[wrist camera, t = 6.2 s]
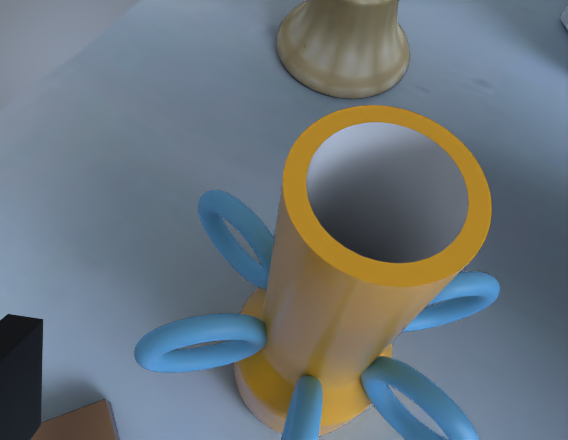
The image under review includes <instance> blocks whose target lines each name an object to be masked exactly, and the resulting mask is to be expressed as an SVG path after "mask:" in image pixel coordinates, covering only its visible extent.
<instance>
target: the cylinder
mask: <svg viewBox="0 0 568 440" xmlns="http://www.w3.org/2000/svg"><path fill="white" fill-rule="evenodd" d="M198 212H199V217H200V220H201V222H202V225H203V227H204V229H205V231H206V233H207V234H208V236H209V238H210V239H211V241H212V242H213V244H214V245H215V247H216V248H217V249H218V251H219V252H220V253H221V254H222V256H223V257H224V258H225V259H226V260H227V262H228V263H229V264H230V265H231V266H232V267H233V268H234V269H235V270H236V271H237V272H238V273H239V274H240V275H242V276H243V277H244V278H245V279H247V280H248V281H249V282H251V283H252V284H254V285H255V286H257V287H258V288H257V289H256V290H255V291H254V292H253V293H252V295H251V296H250V297H249V298H248V300H247V301H246V303H245V305H244V306H243V308H242V310H241V312H240V314H233V313H224V314H210V315H202V316H196V317H191V318H186V319H182V320H178V321H175V322H172V323H168V324H166V325H163V326H161V327H158V328H156V329H154V330H152V331H150V332H149V333H147V334H146V335H144V336H143V337H142V338H141V339H140V340H139V341H138V343H137V344H136V347H135V350H134V356H135V359H136V361H137V363H138V364H139V365H140V366H141V367H143V368H145V369H147V370H150V371H155V372H165V373H176V372H190V371H198V370H204V369H210V368H215V367H219V366H223V365H227V364H231V363H234V372H235V378H236V383H237V387H238V390H239V392H240V395H241V397H242V399H243V401H244V403H245V404H246V406H247V407H248V409H249V410H250V411H251V412H252V414H253V415H254V416H255V417H256V418H257V419H258V420H260V421H261V422H262V423H263V424H265V425H266V426H268V427H269V428H271V429H273V430H275V431H277V432H279V433H282V438H281V440H318V436H322V435H325V434H328V433H330V432H333V431H335V430H337V429H339V428H340V427H342V426H344V425H345V424H347V423H348V422H349V421H351V420H352V419H354V418H355V417H356V416H358V415H359V414H361V413H362V412H363V411H364V410H366V409H367V408H368V407H369V406H370V405H371V404H372V403H373V405H374V406H375V407H376V409H377V410H378V411H379V413H380V414H381V415H382V416H383V417H384V419H385V420H386V421H387V422H388V423H389V424H390V425H391V426H392V427H393V428H394V429H395V430H396V431H397V432H398V433H399V434H400V435H401V436H402V437H403V438H405V439H406V440H448V439H449V440H479V438H478V435H477V433H476V431H475V429H474V427H473V425H472V424H471V422H470V421H469V419H468V418H467V417H466V415H465V414H464V413H463V411H462V410H461V409H460V408H459V407H458V405H457V404H456V403H455V402H454V401H453V400H452V399H451V398H450V397H449V396H448V395H447V394H446V393H445V392H444V391H443V390H442V389H440V388H439V387H438V386H437V385H436V384H435V383H433V382H432V381H431V380H430V379H428V378H427V377H426V376H424V375H423V374H422V373H420V372H419V371H417V370H415V369H414V368H412V367H410V366H409V365H407V364H405V363H403V362H401V361H398V360H396V359H393V358H392V341H393V340H394V339H395V338H396V337H397V336H398V335H399V334H400V333H401V332H404V331H415V330H421V329H427V328H431V327H436V326H440V325H443V324H447V323H450V322H453V321H456V320H459V319H462V318H465V317H467V316H470V315H472V314H474V313H477V312H479V311H481V310H483V309H484V308H486V307H488V306H489V305H490V304H492V303H493V302H494V301H495V300H496V299H497V297H498V296H499V293H500V285H499V282H498V281H497V280H496V278H494V277H493V276H492V275H490V274H487V273H483V272H460V271H461V270H462V269H463V268H464V267H465V266H466V265H467V264H468V263H469V262H470V261H471V260H472V259H473V258H474V257H475V255H476V254H477V253H478V251H479V250H480V248H481V247H482V245H483V243H484V241H485V239H486V236H487V234H488V231H489V227H490V223H491V216H492V202H491V194H490V190H489V186H488V183H487V180H486V177H485V175H484V173H483V171H482V169H481V167H480V165H479V163H478V162H477V160H476V159H475V157H474V156H473V154H472V153H471V152H470V151H469V149H468V148H467V147H466V146H465V145H464V144H463V143H462V142H461V141H460V140H459V139H458V138H457V137H456V136H455V135H453V134H452V133H451V132H450V131H448V130H447V129H446V128H444V127H443V126H441V125H439V124H438V123H436V122H434V121H433V120H431V119H429V118H427V117H424V116H422V115H420V114H417V113H414V112H411V111H408V110H405V109H401V108H396V107H390V106H381V105H364V106H355V107H350V108H346V109H342V110H339V111H336V112H333V113H331V114H329V115H326V116H324V117H323V118H321V119H319V120H318V121H316V122H315V123H313V124H312V125H311V126H309V127H308V128H307V129H306V130H305V131H304V132H303V133H302V134H301V135H300V136H299V138H298V139H297V140H296V142H295V143H294V145H293V146H292V148H291V150H290V152H289V154H288V157H287V160H286V163H285V167H284V172H283V179H282V186H281V194H280V201H279V208H278V215H277V222H276V229H275V236H274V237H273V235H272V234H271V233H270V231H269V230H268V228H267V227H266V226H265V225H264V223H263V222H262V221H261V220H260V219H259V218H258V217H257V215H256V214H255V213H254V212H253V211H252V210H251V209H249V208H248V207H247V206H246V205H245V204H244V203H243V202H241V201H240V200H239V199H237V198H236V197H234V196H232V195H231V194H229V193H227V192H224V191H220V190H210V191H207V192H205V193H204V194H203V195H202V196H201V198H200V200H199V203H198ZM222 217H224V218H225V219H226V220H227V221H229V222H230V223H231V224H232V225H233V226H234V227H235V228H236V229H237V230H238V231H239V232H240V233H241V234H242V235H243V237H244V238H245V239H246V240H247V242H248V243H249V244H250V245H251V247H252V248H253V250H254V251H255V253H256V254H257V256H258V258H259V259H260V261H261V263H262V265H263V266H262V265H261V264H259V263H258V262H257V261H255V260H254V259H253V258H252V257H251V256H250V255H249V254H248V253H247V252H246V251H245V250H244V249H243V248H242V247H241V246H240V245H239V243H238V242H237V241H236V240H235V238H234V237H233V236H232V234H231V233H230V231H229V230H228V228H227V226H226V225H225V223H224V221H223V219H222ZM449 299H451V300H449ZM445 300H448V301H446V302H443V303H439V304H436V305H432V306H428V305H431V304H434V303H437V302H441V301H445ZM426 306H428V307H426ZM219 340H228V341H225V342H222V343H218V344H214V345H210V346H204V347H198V348H189V349H178V348H181V347H185V346H189V345H193V344H198V343H204V342H210V341H219ZM388 385H390V386H392V387H394V388H396V389H397V390H399V391H400V392H402V393H403V394H405V395H406V396H407V397H409V398H410V399H411V400H413V401H414V402H415V403H416V404H417V405H419V406H420V407H421V408H422V409H423V410H424V411H425V412H426V413H427V414H428V415H429V416H430V417H431V418H432V419H433V420H434V421H435V422H436V423H437V424H438V425H439V427H440V428H441V429H442V430H443V432H444V433H445V434H446V436H447V437H448V439H446V438H444V437H442V436H440V435H438V434H437V433H435V432H434V431H432V430H431V429H429V428H428V427H427V426H425V425H424V424H423V423H421V422H420V421H419V420H418V419H417V418H416V417H414V416H413V415H412V414H411V413H410V412H409V411H408V410H407V409H406V408H405V407H404V406H403V405H402V404H401V402H400V401H399V400H398V399H397V398H396V396H395V395H394V394H393V392H392V391H391V390H390V388H389V386H388Z"/></svg>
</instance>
